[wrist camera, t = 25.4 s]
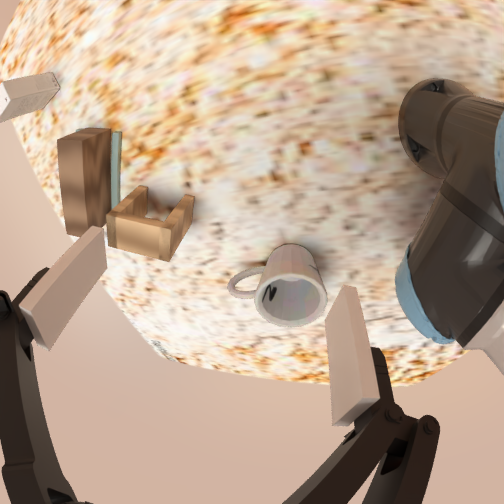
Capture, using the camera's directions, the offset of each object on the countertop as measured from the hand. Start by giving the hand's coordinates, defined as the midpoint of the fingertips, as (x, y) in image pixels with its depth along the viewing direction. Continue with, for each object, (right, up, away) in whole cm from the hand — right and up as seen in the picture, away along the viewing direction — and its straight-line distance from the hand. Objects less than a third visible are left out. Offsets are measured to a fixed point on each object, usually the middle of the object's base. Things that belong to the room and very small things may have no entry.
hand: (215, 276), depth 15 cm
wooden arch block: (-12, +9, +30) cm, 34 cm away
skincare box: (-34, +29, +20) cm, 49 cm away
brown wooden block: (-24, +15, +28) cm, 40 cm away
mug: (+6, 0, +34) cm, 35 cm away
